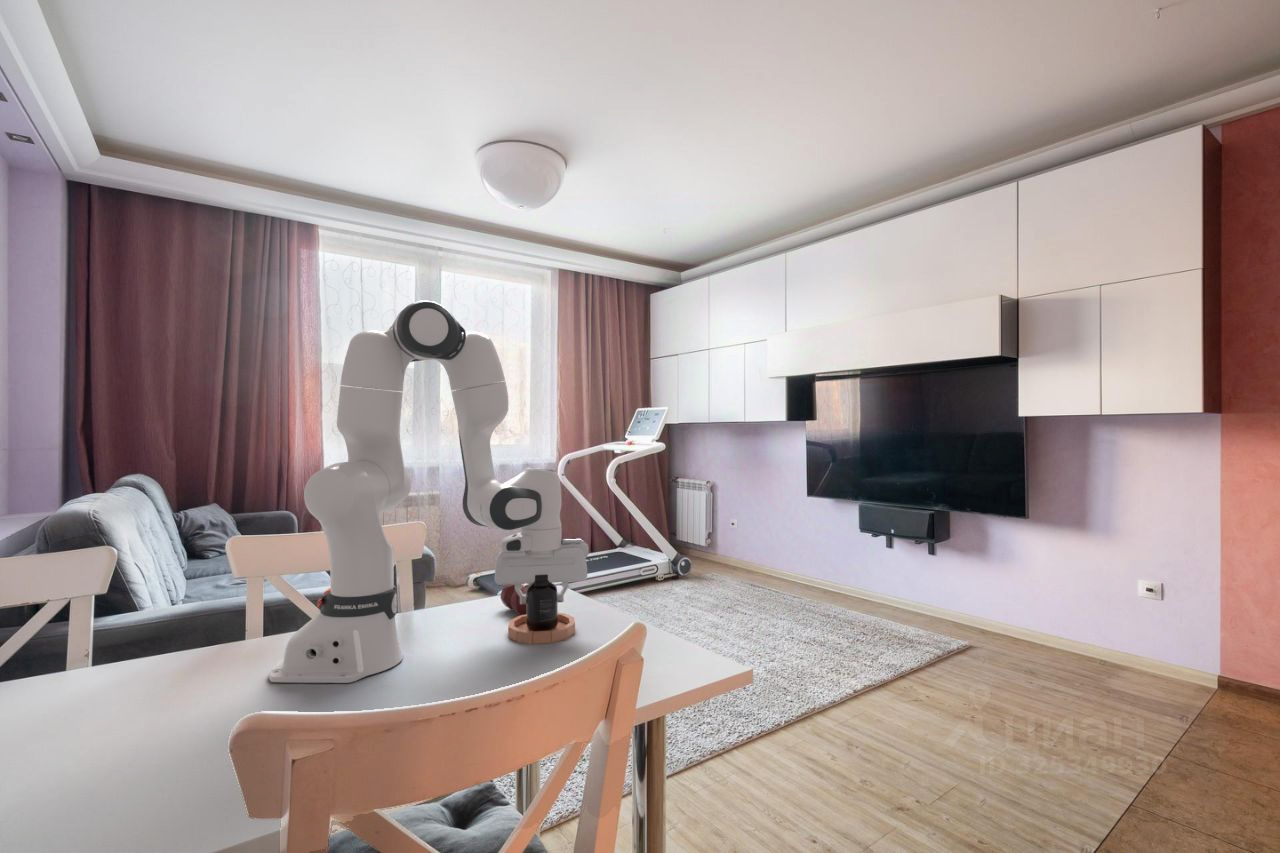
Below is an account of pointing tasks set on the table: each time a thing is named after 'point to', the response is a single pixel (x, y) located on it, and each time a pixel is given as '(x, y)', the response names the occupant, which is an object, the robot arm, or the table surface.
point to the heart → (514, 598)
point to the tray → (524, 635)
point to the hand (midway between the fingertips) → (541, 602)
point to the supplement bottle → (542, 605)
